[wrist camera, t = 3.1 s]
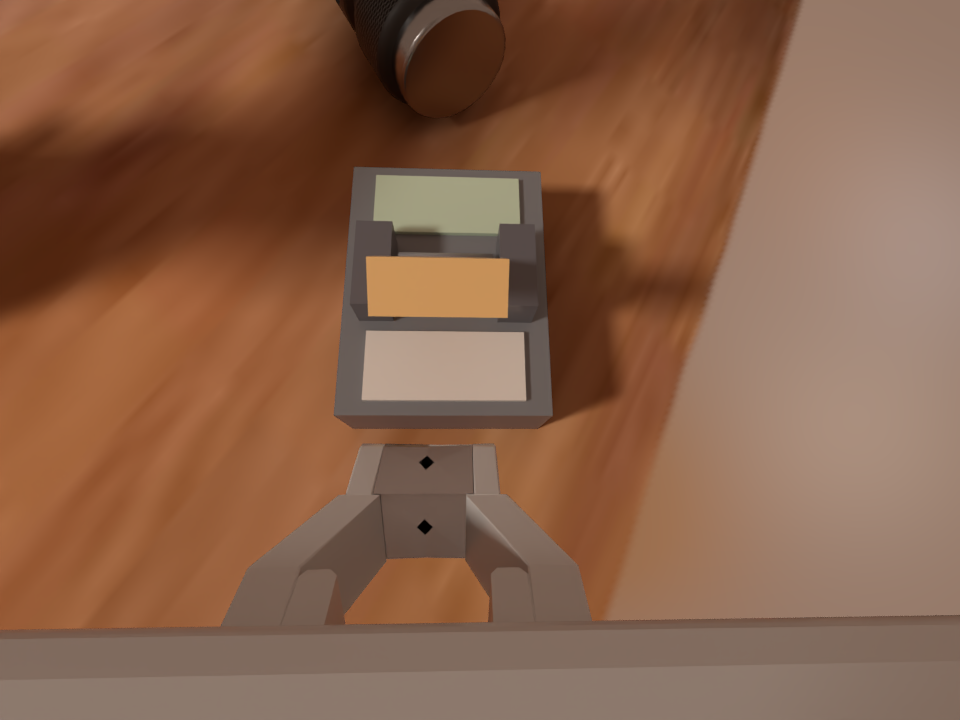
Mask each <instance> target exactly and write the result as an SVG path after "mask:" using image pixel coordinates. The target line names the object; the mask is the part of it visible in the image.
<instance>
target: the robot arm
mask: <svg viewBox="0 0 960 720" xmlns="http://www.w3.org/2000/svg"><path fill="white" fill-rule="evenodd" d="M424 557H429V558H465V560H466V562H467V563H468V565H469V566H470V568H471V570H472V571H473V573H474V574H475V576H476V577H477V579H478V580H479V582H480V584H481V585H482V587H483V588H484V590H485V591H486V593H487V594H488V596H489V598H490V600H489V617H488V622H480V623H415V624H351V625H345V620H344V614H345V613H346V612H347V610H348V609H349V608H350V607H351V605H352V604H353V603H354V602H355V600H356V599H357V598H358V597H359V595H360V594H361V593H362V591H363V590H364V589H365V588H366V586H367V585H368V584H369V583H370V581H371V580H372V579H373V577H374V576H375V575H376V574H377V572H378V571H379V570H380V569H381V567H382V566H383V565H384V564H385V562H386V559H398V558H424ZM0 720H960V615H940V616H939V615H938V616H937V615H935V616H873V617H872V616H871V617H806V618H743V619H679V620H678V619H677V620H616V621H615V620H614V621H592V619H591V615H590V611H589V607H588V603H587V599H586V595H585V591H584V587H583V583H582V579H581V575H580V571H579V567H578V565H577V564H576V563H575V562H574V561H573V560H572V559H571V558H570V557H569V556H568V555H567V554H566V553H565V552H564V551H563V550H562V549H561V548H560V547H559V546H558V545H557V544H556V543H555V542H554V541H553V540H552V539H551V538H550V537H549V536H548V535H547V534H546V533H545V532H544V531H543V530H542V529H541V528H540V527H539V526H538V525H537V524H536V523H535V522H534V521H533V520H532V519H531V518H530V517H529V516H528V515H527V514H526V513H525V512H524V511H523V510H522V509H521V508H520V507H519V506H518V505H517V504H516V503H515V502H514V501H513V500H512V499H511V498H510V497H509V496H508V495H507V494H500V486H499V476H498V466H497V456H496V446H495V445H494V444H473V445H419V444H362V446H361V447H360V448H359V452H358V455H357V458H356V462H355V465H354V468H353V471H352V475H351V478H350V481H349V485H348V488H347V491H346V495H338V496H337V497H336V498H334V499H333V500H332V501H331V502H329V503H328V504H327V505H326V506H324V507H323V508H322V509H321V510H319V511H318V512H317V513H316V514H314V515H313V516H312V517H311V518H310V519H308V520H307V521H306V522H305V523H303V524H302V525H301V526H300V527H298V528H297V529H296V530H295V531H293V532H292V533H291V534H290V535H288V536H287V537H286V538H285V539H283V540H282V541H281V542H280V543H278V544H277V545H276V546H275V547H273V548H272V549H271V550H270V551H268V552H267V553H266V554H265V555H264V556H262V557H261V558H260V559H259V560H257V561H256V562H255V563H254V564H252V565H251V566H250V567H249V568H248V569H247V571H246V573H245V575H244V577H243V580H242V582H241V584H240V586H239V588H238V590H237V592H236V594H235V597H234V599H233V601H232V603H231V605H230V607H229V609H228V612H227V614H226V616H225V618H224V620H223V622H222V624H221V626H220V627H158V628H94V629H30V630H0Z"/></svg>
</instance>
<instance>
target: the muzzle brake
mask: <svg viewBox="0 0 960 720" xmlns="http://www.w3.org/2000/svg"><path fill="white" fill-rule="evenodd" d="M336 2H337V4H338V5H339V7H340V8H341V10H342V12H343V13H344V15H345V16H346V18H347V20H348V21H349V23H350V24H351V26H352V28H353V29H354V31H355V32H356V35H357V38H358V41H359V44H360V47H361V49H362V51H363V52H364V54H365V56H366V58H367V59H368V61H369V62H370V64H371V66H372V67H373V69H374V70H375V72H376V74H377V75H378V77H379V78H380V80H381V82H382V83H383V85H384V87H385V88H386V89H387V91H388V92H389V93H390V94H391V95H392V96H393V97H395V98H396V99H398V100H400V101H401V102H403V103H406V104H408V105H409V106H410V107H411V108H412V109H413V110H414V111H416V112H417V113H419V114H421V115H423V116H426V117H430V118H444V117H449V116H452V115H455V114H457V113H459V112H461V111H463V110H465V109H466V108H468V107H469V106H471V105H472V104H473V103H474V102H475V101H477V100H478V99H479V98H480V97H481V96H482V95H483V94H484V92H485V91H486V90H487V89H488V88H489V86H490V85H491V83H492V82H493V80H494V79H495V77H496V75H497V73H498V71H499V69H500V66H501V64H502V61H503V57H504V52H505V33H504V28H503V25H502V23H501V21H500V11H499V6H498V1H497V0H336Z"/></svg>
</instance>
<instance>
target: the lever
mask: <svg viewBox="0 0 960 720" xmlns="http://www.w3.org/2000/svg"><path fill="white" fill-rule="evenodd" d="M366 272H367V299H368V316H391V317H476V318H508V290H509V259H507V258H493V254H479V253H425V252H399V254H398V256H366Z"/></svg>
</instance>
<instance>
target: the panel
mask: <svg viewBox="0 0 960 720" xmlns="http://www.w3.org/2000/svg"><path fill="white" fill-rule="evenodd" d="M399 252H425V253H479V254H493V258H507V259H509V290H508V318H476V317H391V316H368V299H367V272H366V256H398V254H399ZM334 416H335V417H337V418H338V419H340V420H341V421H343V422H344V423H346V424H347V425H349V426H350V427H352V428H353V429H538V428H539V427H540V426H541V425H543V424H544V423H545V422H546V421H547V420H548V419H550V418H551V417H552V416H553V410H552V390H551V370H550V351H549V331H548V311H547V292H546V272H545V252H544V232H543V213H542V193H541V173H540V172H527V171H490V170H454V169H417V168H380V167H354V173H353V185H352V198H351V210H350V222H349V234H348V247H347V259H346V271H345V284H344V296H343V308H342V321H341V333H340V345H339V358H338V370H337V382H336V395H335V407H334Z"/></svg>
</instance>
